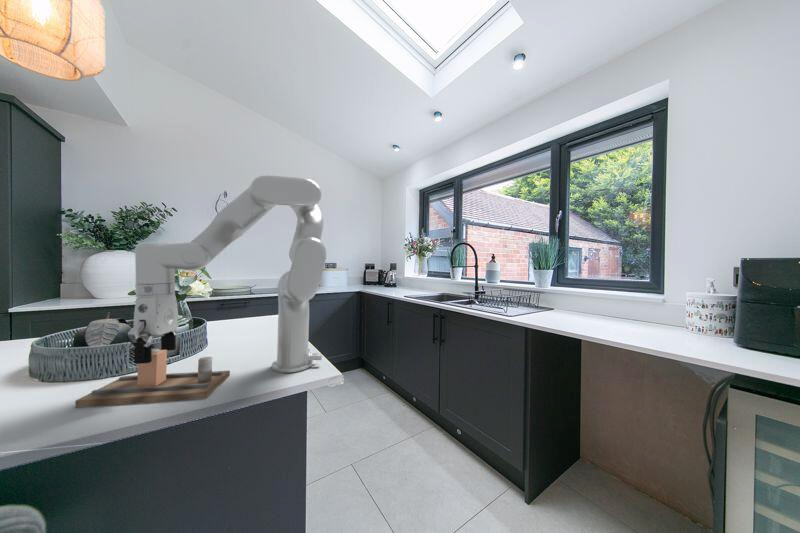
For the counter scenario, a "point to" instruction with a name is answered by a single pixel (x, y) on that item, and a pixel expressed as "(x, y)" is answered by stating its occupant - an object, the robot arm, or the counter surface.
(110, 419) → the counter surface
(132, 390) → the board
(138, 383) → the block
